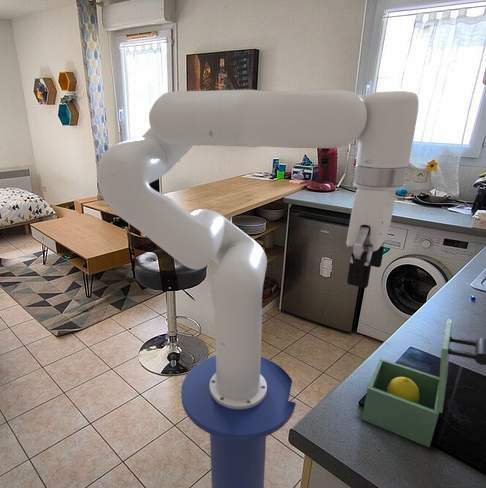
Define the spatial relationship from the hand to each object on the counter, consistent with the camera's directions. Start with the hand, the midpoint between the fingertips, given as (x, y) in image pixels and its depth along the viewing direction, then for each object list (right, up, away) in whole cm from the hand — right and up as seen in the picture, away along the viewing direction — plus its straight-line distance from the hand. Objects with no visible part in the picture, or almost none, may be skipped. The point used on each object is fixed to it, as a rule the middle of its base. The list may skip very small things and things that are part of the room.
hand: (364, 274), depth 64 cm
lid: (+13, -15, -1) cm, 20 cm away
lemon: (+9, -27, +7) cm, 29 cm away
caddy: (+10, -28, +7) cm, 30 cm away
